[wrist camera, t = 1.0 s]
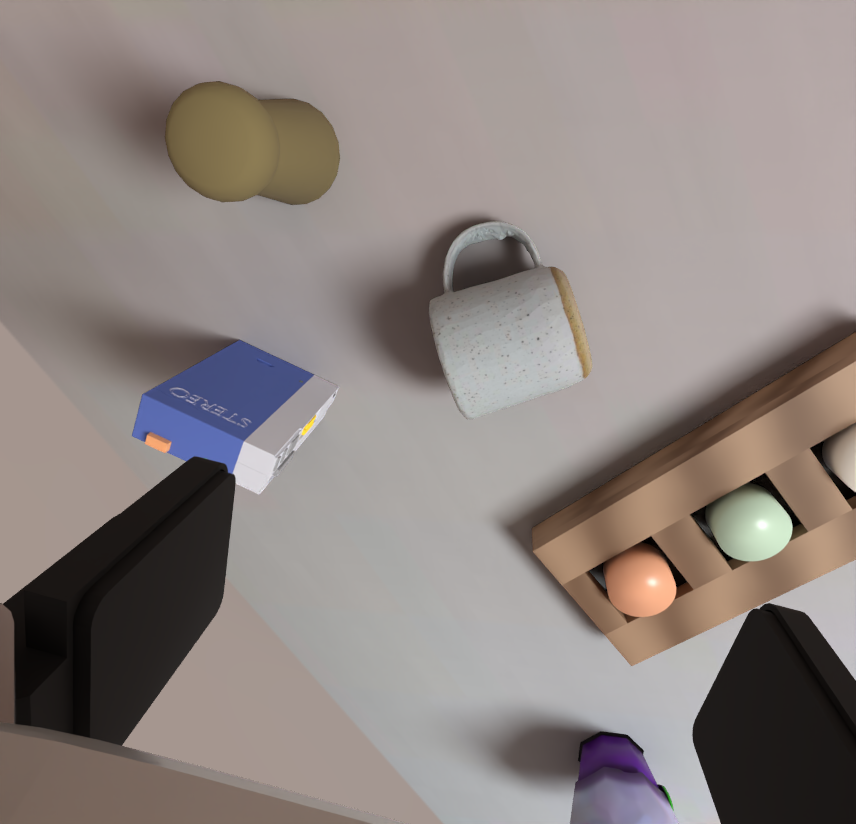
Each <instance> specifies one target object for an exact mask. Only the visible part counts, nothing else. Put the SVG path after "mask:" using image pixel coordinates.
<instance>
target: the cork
mask: <svg viewBox="0 0 856 824" xmlns="http://www.w3.org/2000/svg"><path fill="white" fill-rule="evenodd" d="M165 140H166V145H167V150H168V156H169V158H170V160H171V162H172V164H173V166H174V168H175V170H176V172H177V173H178V175H179V176H180V177H181V178H182V179H183V181H184V182H185V183H186V184H187V185H188V186H189V187H191V188H192V189H194V190H195V191H197V192H198V193H199V194H201V195H203V196H205V197H207V198H210V199H213V200H217V201H220V202H235V201H244V200H246V199H248V198H251V197H253V196H255V195H260V196H263V197H267V198H270V199H274V200H277V201H280V202H284V203H287V204H291V205H297V204H307V203H310V202H312V201H314V200H317V199H319V198H320V197H321V196H322V195H323V194H324V193H325V192H326V191H327V190H328V189H330V187H331V185H332V183H333V181H334V179H335V177H336V176H337V172H338V166H339V161H340V154H339V144H338V140H337V137H336V135H335V132H334V130H333V127H332V125H331V124H330V123H329V121H328V120H327V119H326V117H325V116H324V115H323V113H322V112H320V111H319V110H318V109H316V108H315V107H313V106H312V105H310V104H309V103H306V102H303V101H299V100H296V99H272V100H257V99H256V98H255V97H254V96H252V95H251V94H249V93H248V92H246V91H245V90H244V89H242V88H240V87H237V86H234V85H231V84H227V83H224V82H220V81H216V82H205V83H200V84H197V85H195V86H193V87H191V88H189V89H187V90H185V91H183V92H182V94H181V95H180V96H179V97H178V98H177V99H176V100H175V102H174V103H173V104H172V107H171V109H170V112H169V114H168V117H167V119H166V132H165Z"/></svg>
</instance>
